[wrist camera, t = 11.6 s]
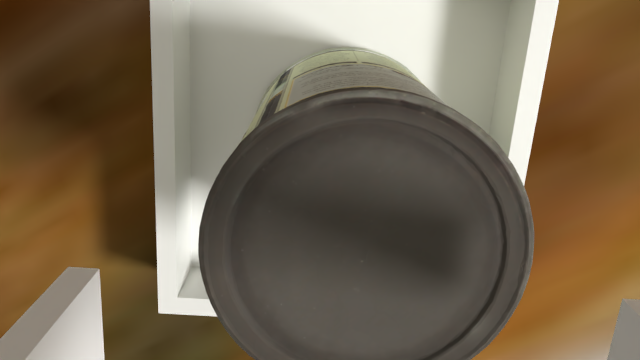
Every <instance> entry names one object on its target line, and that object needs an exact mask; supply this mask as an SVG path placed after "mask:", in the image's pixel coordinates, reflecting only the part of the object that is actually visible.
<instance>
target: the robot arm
mask: <svg viewBox="0 0 640 360" xmlns="http://www.w3.org/2000/svg"><path fill="white" fill-rule="evenodd" d="M0 360H104V343H103V325H102V307H101V289H100V271H99V269H94V268H76V267H68V268H67V269H66V270H65V271H64V272H63V273H62V274H61V275H60V276H59V277H58V278H57V279H56V280H55V282H54V283H53V284H52V285H51V286H50V287H49V288H48V289H47V290H46V291H45V292H44V293H43V294H42V295H41V296H40V297H39V299H38V300H37V301H36V302H35V303H34V304H33V305H32V306H31V307H30V308H29V309H28V310H27V311H26V312H25V313H24V314H23V315H22V317H21V318H20V319H19V320H18V321H17V322H16V323H15V324H14V325H13V326H12V327H11V328H10V329H9V330H8V331H7V332H6V333H5V335H4V336H3V337H2V338H1V339H0ZM607 360H640V300H634V299H622V303H621V307H620V311H619V315H618V319H617V323H616V327H615V331H614V335H613V339H612V343H611V347H610V351H609V355H608V359H607Z"/></svg>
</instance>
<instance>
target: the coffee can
mask: <svg viewBox="0 0 640 360" xmlns="http://www.w3.org/2000/svg"><path fill="white" fill-rule="evenodd" d="M533 250H534V226H533V218H532V213H531V208H530V203H529V199H528V196H527V193H526V190H525V188H524V185H523V183H522V181H521V179H520V177H519V175H518V173H517V171H516V169H515V167H514V165H513V164H512V162H511V161H510V160H509V158H508V157H507V155H506V154H505V153H504V151H503V150H502V149H501V147H500V146H499V145H498V143H497V142H496V141H495V140H494V139H493V138H492V137H491V136H489V135H488V134H487V133H486V132H485V131H484V130H483V129H482V128H481V127H480V126H478V125H477V124H475V123H474V122H473V121H471V120H470V119H468V118H467V117H466V116H464V115H462V114H461V113H459V112H458V111H456V110H454V109H453V108H451V107H449V106H448V105H447V104H446V103H444V102H443V101H442V100H441V99H440V98H439V97H437V96H436V95H435V94H434V93H433V92H432V91H430V90H429V89H428V88H427V87H426V86H425V85H424V84H423V83H421V82H420V80H419V79H418V78H417V77H416V76H415V75H414V74H413V73H412V72H411V71H410V70H409V69H408V68H407V67H406V66H404V65H403V64H401V63H400V62H398V61H396V60H394V59H392V58H391V57H389V56H386V55H384V54H381V53H379V52H375V51H372V50H369V49H362V48H352V47H343V48H329V49H325V50H323V51H319V52H316V53H312V54H310V55H308V56H306V57H304V58H302V59H300V60H298V61H296V62H295V63H293V64H292V65H290V66H289V67H287V68H286V69H285V70H284V71H283V72H282V73H281V74H279V75H278V76H277V77H276V78H275V80H274V81H273V82H272V83H271V85H270V86H269V87H268V88H267V90H266V92H265V94H264V95H263V97H262V99H261V101H260V103H259V106H258V108H257V111H256V114H255V116H254V118H253V120H252V122H251V124H250V126H249V128H248V130H247V131H246V133H245V134H244V136H243V138H242V140H241V142H240V143H239V145H238V146H237V148H236V149H235V150H234V151H233V153H232V154H231V155H230V157H229V158H228V159H227V161H226V162H225V163H224V165H223V166H222V168H221V170H220V172H219V174H218V175H217V177H216V179H215V181H214V183H213V185H212V187H211V189H210V191H209V194H208V197H207V200H206V203H205V206H204V210H203V214H202V218H201V223H200V227H199V240H198V256H199V264H200V271H201V275H202V280H203V283H204V286H205V290H206V293H207V295H208V298H209V300H210V303H211V305H212V307H213V309H214V311H215V313H216V315H217V317H218V319H219V320H220V322H221V323H222V325H223V326H224V328H225V329H226V331H227V332H228V333H229V335H230V336H231V337H232V338H233V339H234V341H235V342H236V343H237V344H238V345H239V346H240V347H241V348H242V349H243V350H244V351H246V352H247V354H248V355H249V356H251V357H253V358H254V359H255V360H471V359H472V358H473V357H475V356H476V355H477V354H479V353H480V352H481V351H482V350H483V349H484V348H486V347H487V346H488V345H489V344H490V343H491V342H492V340H493V339H494V338H495V337H496V336H497V335H498V334H499V332H500V331H501V330H502V329H503V328H504V326H505V325H506V323H507V322H508V320H509V319H510V317H511V316H512V314H513V312H514V311H515V309H516V307H517V305H518V303H519V302H520V300H521V297H522V295H523V292H524V290H525V287H526V284H527V281H528V278H529V274H530V270H531V266H532V260H533Z"/></svg>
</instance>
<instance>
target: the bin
mask: <svg viewBox="0 0 640 360" xmlns="http://www.w3.org/2000/svg"><path fill="white" fill-rule="evenodd" d="M558 2H559V0H150V27H151V63H152V98H153V134H154V169H155V205H156V241H157V276H158V312H159V313H165V314H183V315H201V316H217V315H216V313H215V311H214V309H213V307H212V305H211V303H210V300H209V298H208V295H207V293H206V290H205V286H204V283H203V280H202V275H201V271H200V264H199V256H198V240H199V227H200V223H201V218H202V214H203V210H204V206H205V203H206V200H207V197H208V194H209V191H210V189H211V187H212V185H213V183H214V181H215V179H216V177H217V175H218V174H219V172H220V170H221V168H222V166H223V165H224V163H225V162H226V161H227V159H228V158H229V157H230V155H231V154H232V153H233V151H234V150H235V149H236V148H237V146H238V145H239V143H240V142H241V140H242V138H243V136H244V134H245V133H246V131H247V130H248V128H249V126H250V124H251V122H252V120H253V118H254V116H255V114H256V111H257V108H258V106H259V103H260V101H261V99H262V97H263V95H264V94H265V92H266V90H267V88H268V87H269V86H270V85H271V83H272V82H273V81H274V80H275V78H276V77H277V76H278V75H279V74H281V73H282V72H283V71H284V70H285V69H286V68H287V67H289V66H290V65H292V64H293V63H295V62H296V61H298V60H300V59H302V58H304V57H306V56H308V55H310V54H312V53H316V52H319V51H323V50H325V49H329V48H343V47H352V48H362V49H369V50H372V51H375V52H379V53H381V54H384V55H386V56H389V57H391V58H392V59H394V60H396V61H398V62H400V63H401V64H403V65H404V66H406V67H407V68H408V69H409V70H410V71H411V72H412V73H413V74H414V75H415V76H416V77H417V78H418V79H419V80H420V82H421V83H423V84H424V85H425V86H426V87H427V88H428V89H429V90H430V91H432V92H433V93H434V94H435V95H436V96H437V97H439V98H440V99H441V100H442V101H443V102H444V103H446V104H447V105H448V106H449V107H451V108H453V109H454V110H456V111H458V112H459V113H461V114H462V115H464V116H466V117H467V118H468V119H470V120H471V121H473V122H474V123H475V124H477V125H478V126H480V127H481V128H482V129H483V130H484V131H485V132H486V133H487V134H488V135H489V136H491V137H492V138H493V139H494V140H495V141H496V142H497V143H498V145H499V146H500V147H501V149H502V150H503V151H504V153H505V154H506V155H507V157H508V158H509V160H510V161H511V162H512V164H513V165H514V167H515V169H516V171H517V173H518V175H519V177H520V179H521V181H522V183H523V185H524V183H525V177H526V172H527V167H528V162H529V156H530V151H531V146H532V140H533V135H534V130H535V124H536V119H537V114H538V108H539V103H540V98H541V92H542V87H543V82H544V77H545V71H546V66H547V61H548V55H549V50H550V45H551V39H552V34H553V29H554V23H555V18H556V13H557V7H558Z"/></svg>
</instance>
